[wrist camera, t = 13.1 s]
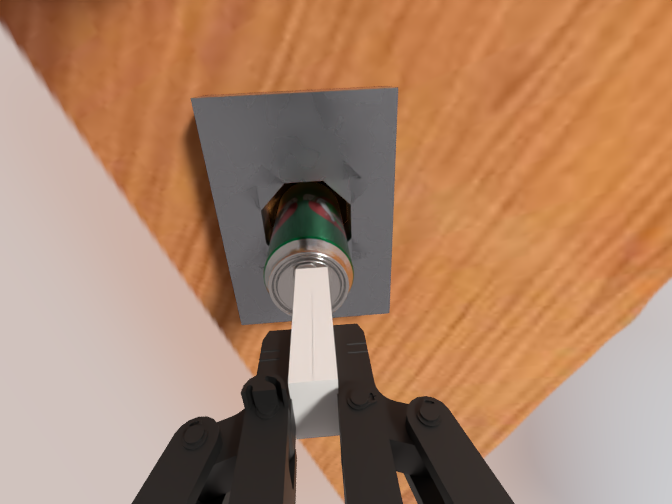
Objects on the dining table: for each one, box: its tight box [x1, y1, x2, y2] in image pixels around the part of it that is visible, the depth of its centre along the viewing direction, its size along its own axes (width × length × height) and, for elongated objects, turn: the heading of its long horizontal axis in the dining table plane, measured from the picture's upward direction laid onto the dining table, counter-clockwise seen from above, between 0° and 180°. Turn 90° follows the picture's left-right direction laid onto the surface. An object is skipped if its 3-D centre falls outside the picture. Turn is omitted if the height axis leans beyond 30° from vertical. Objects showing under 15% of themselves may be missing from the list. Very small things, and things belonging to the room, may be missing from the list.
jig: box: [191, 86, 398, 325], centre depth 27 cm, size 18×13×4 cm
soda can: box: [263, 182, 354, 317], centre depth 23 cm, size 5×5×12 cm
